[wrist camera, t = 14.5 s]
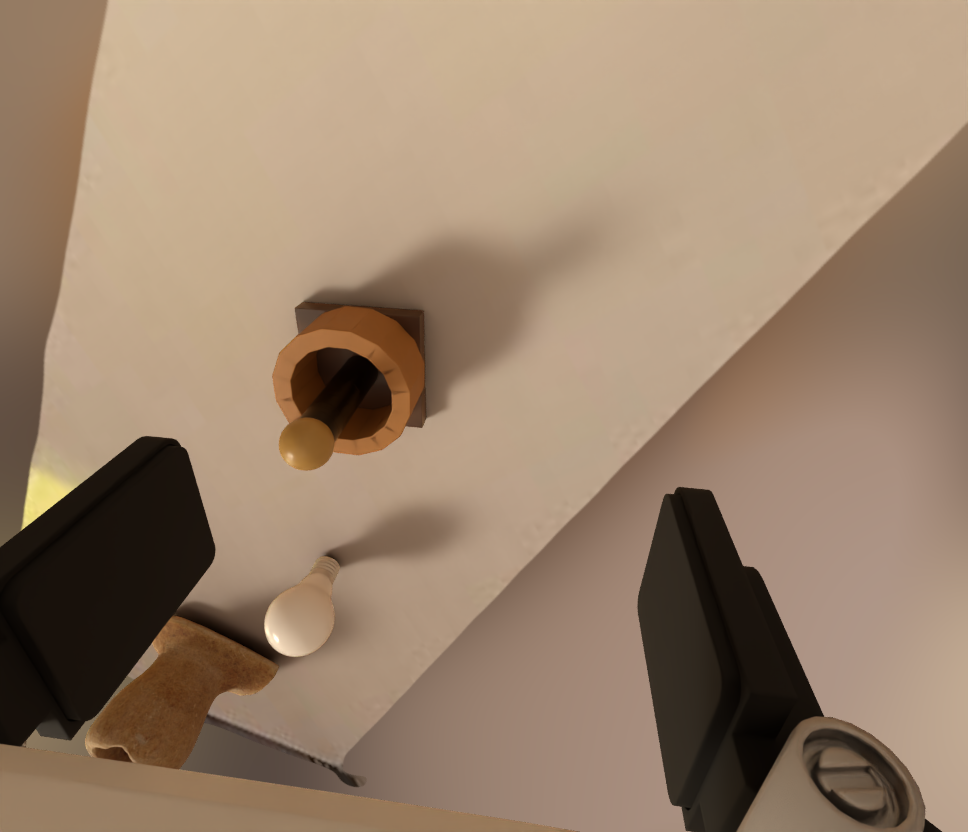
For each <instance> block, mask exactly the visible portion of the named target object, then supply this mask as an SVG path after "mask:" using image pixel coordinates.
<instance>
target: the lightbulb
mask: <svg viewBox="0 0 968 832" xmlns="http://www.w3.org/2000/svg"><path fill="white" fill-rule="evenodd" d="M339 569H340V567H339V564H338V562H337V561H336V560H334V559H333V558H331V557H326V556H323V557H319V558H318V559H317V560H316V561H315V563H314V566H313V567H312V569H311V571H310V573H309V575H308V576H306V577H305V578H304V579H303V580H302V581H301V582H300V583H299V584H298V585H296V586H294V587H291V588H289V589H287V590H285V591H284V592H282V593H281V594H280V595H278V596H277V597H276V598H275V599H274V601H273V602H272V603H271V605H270V606H269V608H268V610H267V613H266V616H265V621H264V630H265V635H266V638H267V640H268V642H269V643H270V645H271V646H272V647H273V648H274V649H275V650H276V651H277V652H279V653H281V654H283V655H286V656H290V657H301V656H305V655H308V654H311V653H313V652H314V651H316V650H317V649H319V648H320V647H321V646H322V645H323V644H324V643H325V642H326V641H327V639H328V638H329V636H330V634H331V632H332V629H333V626H334V619H335V615H334V608H333V604H332V601H331V595H332V585H333V582H334V580H335V578H336V576H337V574H338V571H339Z"/></svg>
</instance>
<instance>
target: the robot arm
mask: <svg viewBox="0 0 968 832" xmlns="http://www.w3.org/2000/svg"><path fill="white" fill-rule="evenodd" d="M214 556H215V544H214V541H213V537H212V534H211V531H210V527H209V524H208V520H207V517H206V513H205V510H204V507H203V503H202V500H201V496H200V493H199V489H198V486H197V483H196V479H195V476H194V472H193V469H192V465H191V462H190V459H189V455H188V452H187V450H186V449H185V448H183V447H181V445H180V443H179V442H178V441H177V440H175V439H172V438H161V437H151V436H144V437H141V438H139V439H137V440H136V441H135V442H134V443H132V444H131V445H130V446H128V447H127V448H126V449H125V450H123V451H122V452H121V453H120V454H118V455H117V456H116V457H114V458H113V459H112V460H111V461H109V462H108V463H107V464H106V465H104V466H103V467H102V468H100V469H99V470H98V471H97V472H95V473H94V474H93V475H92V476H90V477H89V478H88V479H86V480H85V481H84V482H83V483H81V484H80V485H79V486H78V487H76V488H75V489H74V490H72V491H71V492H70V493H69V494H67V495H66V496H65V497H64V498H62V499H61V500H60V501H58V502H57V503H56V504H55V505H53V506H52V507H51V508H50V509H48V510H47V511H46V512H45V513H43V514H42V515H41V516H39V517H38V518H37V519H36V520H34V521H33V522H32V523H31V524H29V525H28V526H27V527H25V528H24V529H23V530H22V531H20V532H19V533H18V534H17V535H15V536H14V537H13V538H12V539H10V540H9V541H8V542H6V543H5V544H4V545H3V546H1V547H0V832H578V831H572V830H566V829H560V828H555V827H549V826H543V825H538V824H532V823H526V822H520V821H515V820H508V819H501V818H495V817H488V816H482V815H476V814H469V813H462V812H456V811H450V810H443V809H436V808H430V807H423V806H418V805H410V804H405V803H398V802H392V801H385V800H378V799H372V798H366V797H359V796H353V795H346V794H340V793H333V792H325V791H319V790H312V789H306V788H299V787H292V786H286V785H279V784H273V783H266V782H259V781H253V780H245V779H239V778H232V777H225V776H219V775H212V774H205V773H198V772H192V771H185V770H178V769H172V768H165V767H158V766H151V765H144V764H137V763H130V762H123V761H116V760H109V759H102V758H95V757H88V756H81V755H74V754H67V753H60V752H53V751H46V750H39V749H32V748H26V740H27V739H28V737H29V736H30V735H31V734H32V733H33V731H34V730H35V729H36V730H37V731H38V733H39V734H40V736H44V737H51V738H57V739H65V740H72V738H73V737H74V735H75V734H76V733H77V732H78V730H79V729H80V728H81V726H82V725H83V724H84V722H85V721H88V720H91V719H92V718H93V717H95V716H96V715H97V714H98V713H99V712H100V710H101V709H102V708H103V707H104V705H105V704H106V703H107V701H108V700H109V699H110V697H111V696H112V695H113V693H114V692H115V691H116V689H117V688H118V687H119V686H120V684H121V683H122V682H123V680H124V679H125V678H126V676H127V675H128V674H129V672H130V671H131V670H132V668H133V667H134V666H135V664H136V663H137V662H138V660H139V659H140V658H141V657H142V655H143V654H144V653H145V651H146V650H147V649H148V647H149V646H150V645H151V643H152V642H153V641H154V639H155V638H156V637H157V635H158V634H159V633H160V631H161V630H162V629H163V627H164V626H165V625H166V623H167V622H168V621H169V620H170V618H171V617H172V616H173V614H174V613H175V612H176V610H177V609H178V608H179V606H180V605H181V604H182V602H183V601H184V600H185V598H186V597H187V596H188V594H189V593H190V592H191V590H192V589H193V588H194V587H195V585H196V584H197V583H198V581H199V580H200V579H201V577H202V576H203V575H204V573H205V572H206V571H207V569H208V568H209V567H210V565H211V564H212V562H213V559H214ZM638 616H639V622H640V628H641V634H642V640H643V646H644V652H645V658H646V664H647V670H648V676H649V682H650V688H651V694H652V699H653V706H654V712H655V718H656V723H657V730H658V736H659V742H660V748H661V754H662V759H663V766H664V772H665V778H666V784H667V790H668V795H669V799H670V802H671V803H672V805H674V806H681V807H682V812H683V817H684V822H685V828H686V831H691V832H942V831H940V830H939V829H938V828H936V827H935V826H934V825H933V824H931V823H930V822H929V821H928V820H926V819H925V805H924V802H923V799H922V795H921V792H920V790H919V787H918V785H917V784H916V782H915V781H914V779H913V777H912V775H911V774H910V772H909V771H908V769H907V768H906V766H905V765H904V764H903V763H902V762H901V761H900V760H899V759H898V757H897V756H896V755H895V754H894V753H893V752H892V751H891V750H890V749H889V748H888V747H887V746H885V745H884V744H883V743H882V742H880V741H879V740H878V739H876V738H875V737H874V736H873V735H871V734H870V733H868V732H866V731H864V730H862V729H861V728H859V727H857V726H855V725H853V724H851V723H848V722H845V721H842V720H839V719H836V718H833V717H824V715H823V713H822V711H821V708H820V706H819V704H818V702H817V700H816V697H815V695H814V693H813V691H812V689H811V686H810V684H809V682H808V679H807V677H806V675H805V673H804V670H803V668H802V666H801V664H800V662H799V659H798V657H797V655H796V652H795V650H794V648H793V646H792V644H791V641H790V639H789V637H788V635H787V632H786V630H785V628H784V626H783V623H782V621H781V619H780V617H779V614H778V612H777V610H776V608H775V605H774V603H773V601H772V599H771V596H770V594H769V592H768V590H767V587H766V585H765V583H764V581H763V579H762V577H761V575H760V574H759V572H758V571H757V570H756V569H755V568H754V567H746V566H743V565H742V563H741V560H740V558H739V555H738V553H737V550H736V548H735V546H734V543H733V541H732V539H731V536H730V534H729V532H728V529H727V526H726V524H725V522H724V519H723V517H722V514H721V512H720V510H719V507H718V505H717V503H716V500H715V498H714V495H713V494H712V492H711V491H710V490H704V489H694V488H684V487H678V488H677V489H676V490H675V493H674V494H666V495H665V496H664V499H663V502H662V506H661V509H660V513H659V517H658V521H657V525H656V529H655V533H654V537H653V540H652V544H651V549H650V552H649V556H648V560H647V564H646V568H645V572H644V575H643V579H642V583H641V587H640V591H639V595H638Z"/></svg>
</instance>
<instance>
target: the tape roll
mask: <svg viewBox="0 0 968 832" xmlns="http://www.w3.org/2000/svg"><path fill="white" fill-rule="evenodd" d="M326 347H332V348H342V349H349V350H351V351H353V352H355V353H357V354H359V355H361V356H363V357H365V358H367V359H369V360H370V361H371V362H372V363H373V364H374V365H375V366H376V367H377V368H378V369H379V370H380V371H381V372H382V373H383V375H384V377H385V379H386V381H387V383H388V386H389V388H390V390H391V392H392V403H391V404H390V405H389V406H385V407H381V408H377V409H373V410H372V409H363V408H357V410H356V411H355V413H354V414H353V416H352V417H351V419H350V420H349V422H348V423H347V425H346V426H345V428H344V429H343V431H342V432H341V434H340V435H339V437H338V438H337V440H336V441H335V445H334V451H333V452H337V453H345V454H353V455H362V454H366V453H371V452H375V451H379V450H382V449H384V448H385V447H386V446H388V445H389V444H390V443H392V442H393V441H394V440H396V439H397V438H399V437H400V436H401V434H402V432H403V430H404V428H405V426H406V424H407V422H408V420H409V418H410V416H411V414H412V411H413V409H414V407H415V405H416V403H417V401H418V399H419V397H420V395H421V392H422V390H423V388H424V366H425V364H424V361H423V359H422V356H421V354H420V352H419V349H418V347H417V344H416V342H415V340H414V339H413V338H412V337H411V336H410V335H409V334H408V333H407V332H406V331H405V330H404V329H403V327H402V326H401V325H400V324H399V323H398V322H397V321H395V320H393V319H391V318H389V317H387V316H385V315H383V314H381V313H379V312H377V311H375V310H373V309H369V308H359V307H350V306H344V307H341V308H338V309H335V310H331V311H328V312H325V313H323V314H321V315H320V316H319V317H318V318H317V319H316V320H314V321H313V322H312V323H311V324H310V325H309V326H308V327H306V328H305V329H304V330H303V331H302V332H301V333H300V334H298V335H297V336H296V337H295V338H294V339H293V340H292V341H291V342H290V343H289V344H288V345H287V346H286V347H285V348H284V349H283V350H282V351H281V352H280V353H279V356H278V359H277V362H276V365H275V369H274V372H273V376H272V378H273V384H274V391H275V398H276V401H277V403H278V405H279V406H280V408H281V410H282V412H283V413H284V415H285V417H286V419H287V420H288V422H289V424H290V423H291V422H293V421H294V420H297V419H299V418H300V417H301V416H302V414H303V413H304V412H305V411H306V410H307V408H308V407H309V406H310V405H311V404H312V402H313V401H314V400H315V399H316V398H317V396H318V395H319V394H320V393H321V392H322V390H323V389H324V388H325V387H326V386H325V384H324V382H323V380H322V379H321V377H320V375H319V373H318V367H317V357H316V354H317V351H318V350H320V349H323V348H326Z"/></svg>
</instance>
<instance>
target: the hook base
mask: <svg viewBox="0 0 968 832" xmlns="http://www.w3.org/2000/svg"><path fill="white" fill-rule="evenodd" d="M344 306H350V307H359V308H369V309H373V310H375V311H377V312H379V313H381V314H383V315H385V316H387V317H389V318H391V319H393V320H395V321H397V322H398V323H399V324H400V325H401V326H402V327H403V329H404V330H405V331H406V332H407V333H408V334H409V335H410V336H411V337H412V338H413V339H414V340H415V342H416V344H417V347H418V349H419V352H420V354H421V356H422V359H423V361H424V364H425V344H424V311H421V310H407V309H393V308H380V307H366V306H352V305H338V304H324V303H310V302H302V303H301V304H300V305H298V306H297V307H296V308H295V314H296V320H297V327H298V334H300V333H301V332H302V331H303V330H304V329H305V328H306V327H308V326H309V325H310V324H311V323H312V322H313V321H314V320H316V319H317V318H318V317H319V316H320V315H321V314H323V313H325V312H328V311H331V310H335V309H338V308H341V307H344ZM357 355H359V354H357V353H355V352H353V351H351V350H349V349H342V348H332V347H326V348H323V349H320V350H318V351H317V354H316V357H317V367H318V373H319V375H320V377H321V379H322V380H323V382H324V384H325V386H327V384H328V383H329V382H330V381H331V379H332V378H333V377H334V376H335V375H336V373H337V372H338V371H339V370H340V369H341V367H342V366H343V365H344V364H345V363H346V361H347V360H348V359H349V358H351V357H353V356H357ZM360 356H361V355H360ZM377 370H378V377H377V379H376V381H375V383H374V384H373V386H372V387H371V389H370V390H369V392H368V393H367V395H366V396H365V398H364V399H363V401H362V402H361V404H360V405H359V407H358V408H363V409H372V410H373V409H377V408H381V407H385V406H389V405H390V404H391V403H392V392H391V390H390V388H389V386H388V383H387V381H386V379H385V377H384V375H383V373H382V372H381V371H380V370H379V369H378V368H377ZM425 420H426V389H425V366H424V388H423V390H422V392H421V395H420V397H419V399H418V401H417V403H416V405H415V407H414V409H413V411H412V414H411V416H410V418H409V420H408V422H407V424H406V426H408V427H419V428H422V427H423V425H424V423H425Z"/></svg>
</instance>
